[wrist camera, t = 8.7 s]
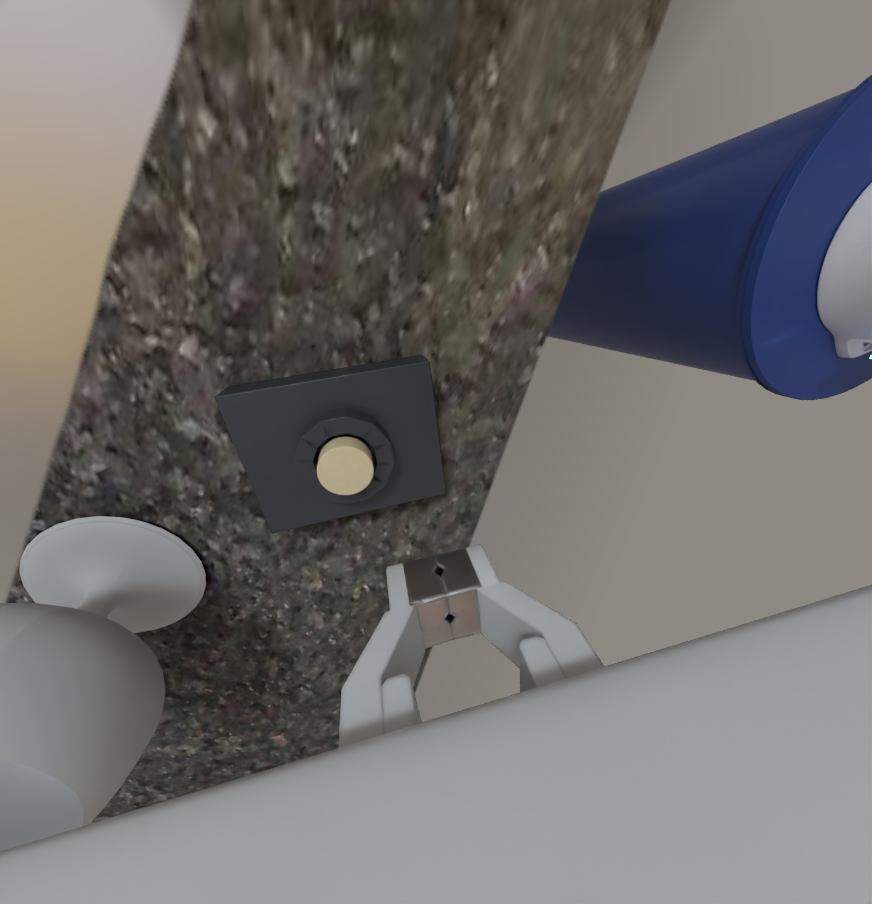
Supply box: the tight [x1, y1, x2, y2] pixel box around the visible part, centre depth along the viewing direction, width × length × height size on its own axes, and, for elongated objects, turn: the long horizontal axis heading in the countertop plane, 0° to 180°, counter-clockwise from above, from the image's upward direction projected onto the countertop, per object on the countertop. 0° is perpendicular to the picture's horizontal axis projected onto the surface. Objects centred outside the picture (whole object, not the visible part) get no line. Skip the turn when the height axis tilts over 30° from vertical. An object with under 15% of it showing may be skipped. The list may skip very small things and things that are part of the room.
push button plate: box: [215, 355, 446, 533], centre depth 25 cm, size 14×11×4 cm
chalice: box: [0, 516, 206, 851], centre depth 21 cm, size 14×14×15 cm
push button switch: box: [317, 437, 374, 495], centre depth 23 cm, size 4×4×2 cm
